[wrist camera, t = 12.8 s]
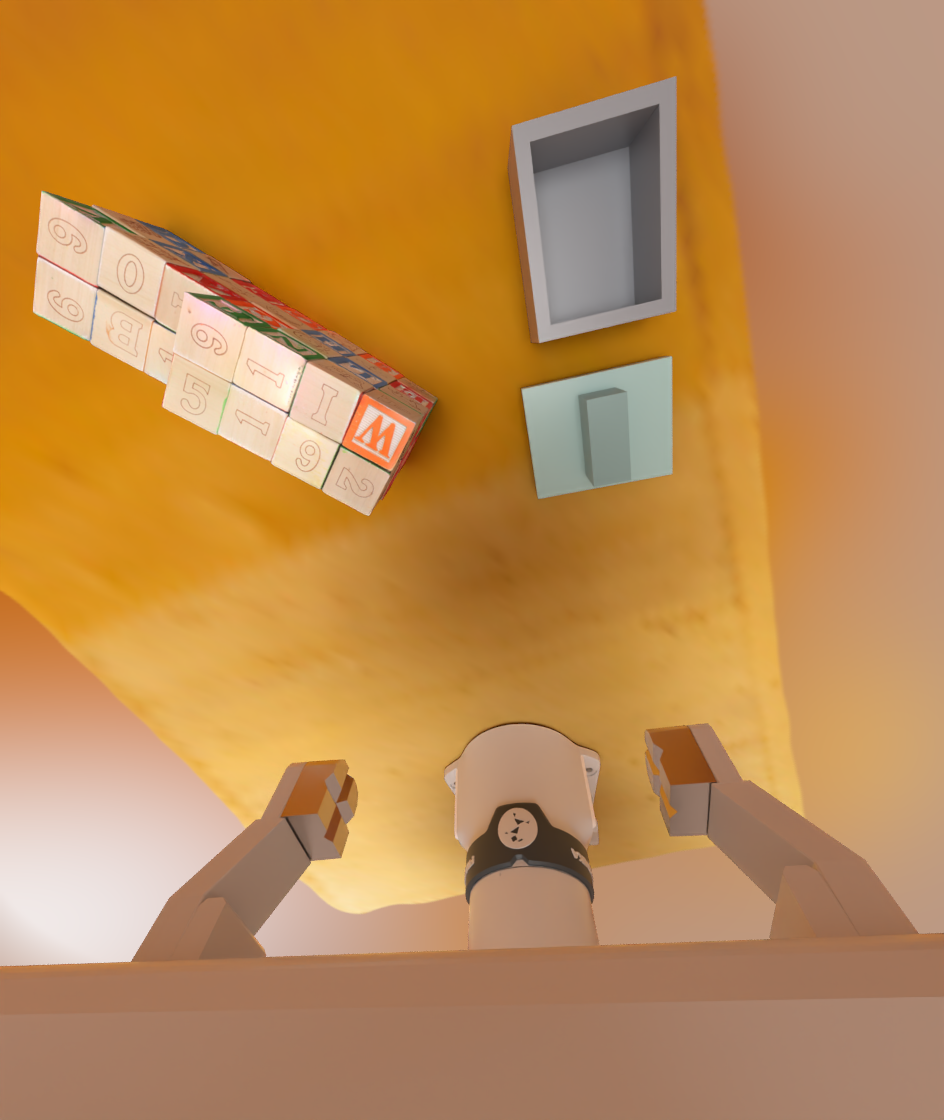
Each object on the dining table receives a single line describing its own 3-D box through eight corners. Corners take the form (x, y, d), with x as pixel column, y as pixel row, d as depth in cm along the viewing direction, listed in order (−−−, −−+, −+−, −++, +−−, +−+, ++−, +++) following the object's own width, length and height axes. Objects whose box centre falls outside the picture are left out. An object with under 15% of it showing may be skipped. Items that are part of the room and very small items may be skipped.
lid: (660, 355, 31) (689, 357, 27) (662, 466, 35) (688, 485, 30) (520, 386, 33) (524, 394, 28) (535, 490, 36) (542, 512, 32)
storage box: (643, 316, 30) (676, 311, 25) (531, 342, 31) (539, 343, 26) (638, 130, 26) (676, 76, 21) (507, 168, 27) (511, 125, 22)
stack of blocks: (148, 318, 32) (-32, 306, 21) (166, 227, 29) (-29, 159, 18) (405, 465, 36) (368, 520, 25) (441, 397, 34) (417, 425, 23)
